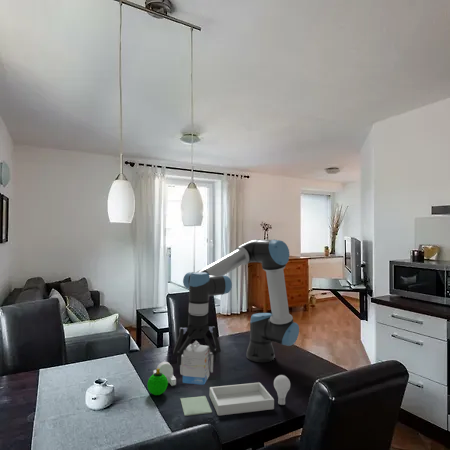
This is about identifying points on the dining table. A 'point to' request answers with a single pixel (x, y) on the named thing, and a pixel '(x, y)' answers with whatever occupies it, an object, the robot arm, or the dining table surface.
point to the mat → (195, 405)
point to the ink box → (196, 364)
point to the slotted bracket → (166, 372)
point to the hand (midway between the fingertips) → (196, 372)
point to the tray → (240, 398)
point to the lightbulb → (281, 388)
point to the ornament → (157, 383)
